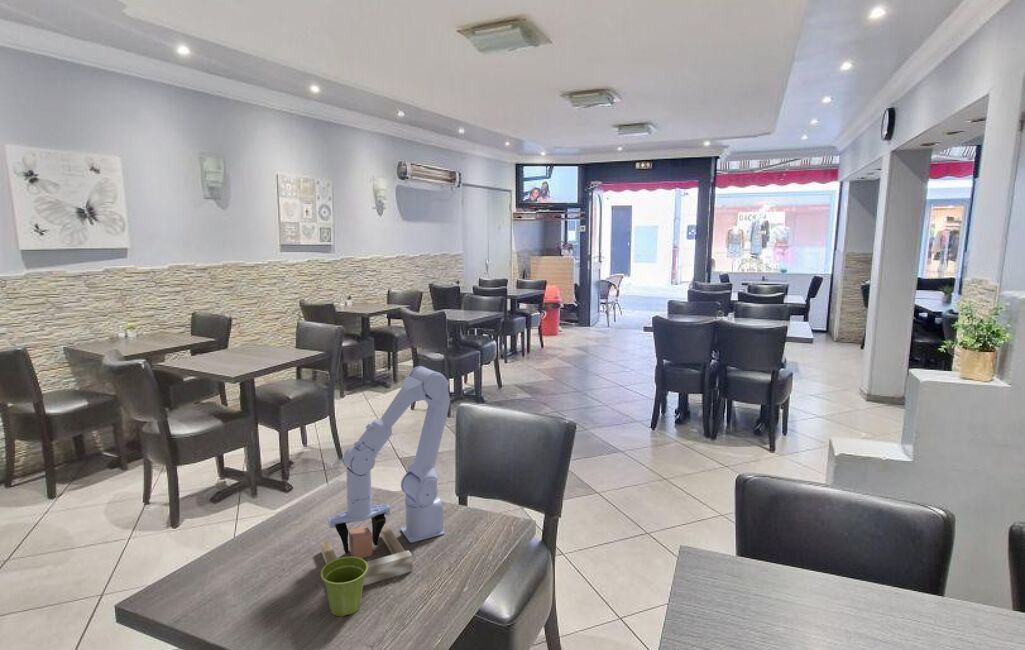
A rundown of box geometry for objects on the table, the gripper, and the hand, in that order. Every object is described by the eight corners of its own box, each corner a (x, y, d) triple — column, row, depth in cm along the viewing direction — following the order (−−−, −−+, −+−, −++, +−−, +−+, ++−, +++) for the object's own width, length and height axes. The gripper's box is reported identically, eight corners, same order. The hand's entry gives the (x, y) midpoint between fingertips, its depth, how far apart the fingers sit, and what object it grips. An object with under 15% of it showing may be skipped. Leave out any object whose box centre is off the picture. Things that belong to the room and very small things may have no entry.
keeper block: (367, 546, 137) (367, 525, 136) (372, 555, 133) (371, 534, 132) (349, 551, 134) (348, 530, 134) (353, 560, 130) (353, 538, 130)
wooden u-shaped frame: (388, 534, 142) (388, 520, 141) (412, 571, 126) (412, 555, 126) (321, 551, 134) (320, 536, 133) (337, 593, 118) (337, 576, 117)
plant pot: (377, 598, 116) (376, 561, 115) (351, 627, 107) (349, 587, 106) (341, 589, 119) (339, 552, 118) (312, 616, 110) (310, 577, 109)
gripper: (383, 483, 138) (384, 532, 140) (325, 495, 131) (326, 547, 133) (392, 493, 132) (393, 545, 134) (331, 507, 125) (333, 561, 127)
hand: (360, 547), depth 133 cm, fingers open, 6 cm apart
